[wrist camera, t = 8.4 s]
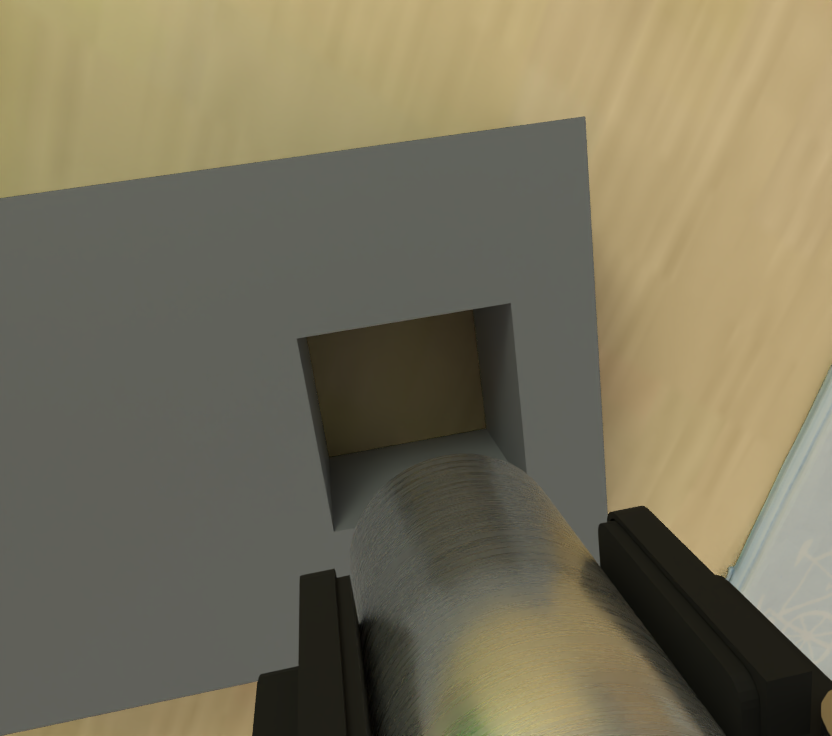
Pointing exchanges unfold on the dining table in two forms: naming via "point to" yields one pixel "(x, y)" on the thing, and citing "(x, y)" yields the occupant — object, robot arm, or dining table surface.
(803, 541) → the folded cloth
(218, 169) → the socket plate
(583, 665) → the metal peg
